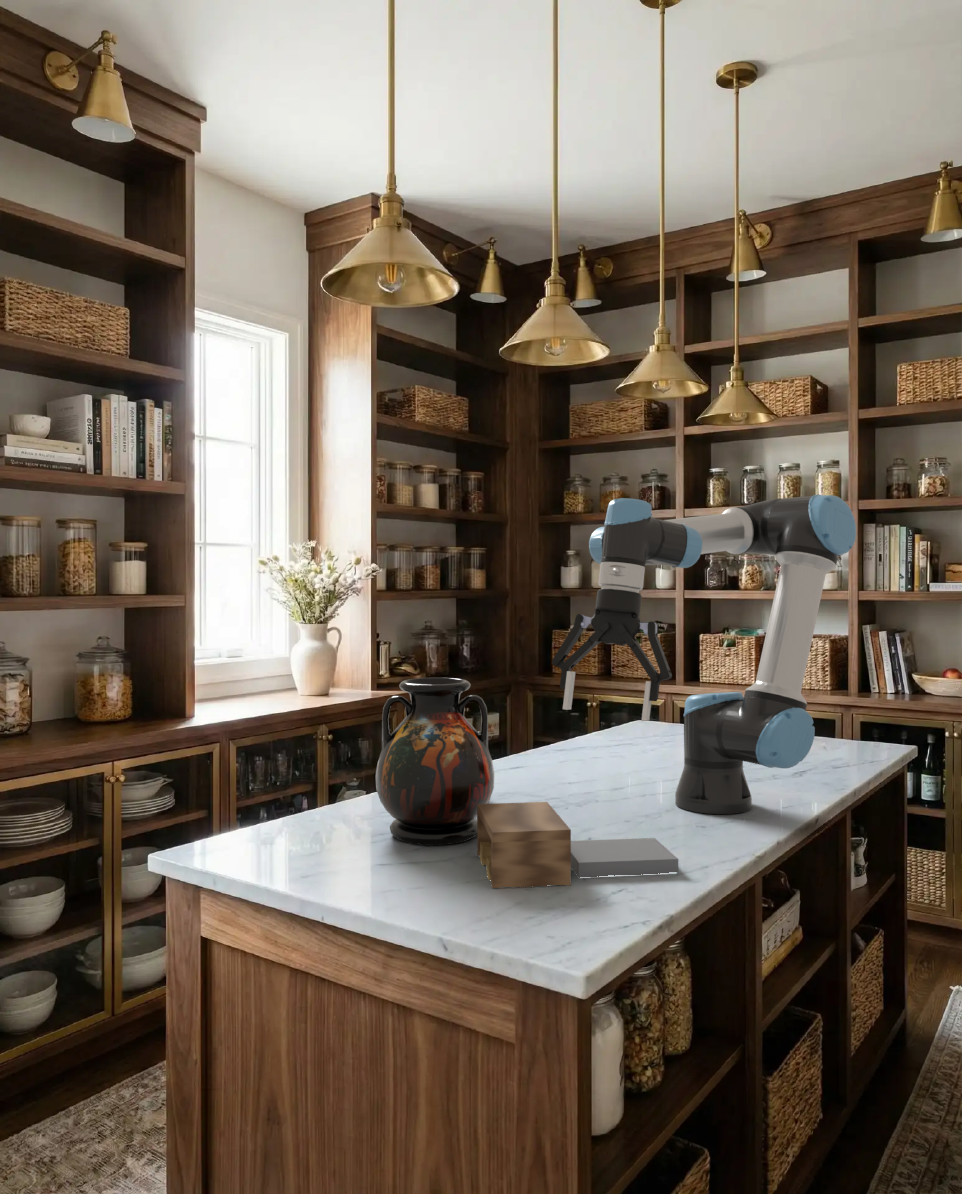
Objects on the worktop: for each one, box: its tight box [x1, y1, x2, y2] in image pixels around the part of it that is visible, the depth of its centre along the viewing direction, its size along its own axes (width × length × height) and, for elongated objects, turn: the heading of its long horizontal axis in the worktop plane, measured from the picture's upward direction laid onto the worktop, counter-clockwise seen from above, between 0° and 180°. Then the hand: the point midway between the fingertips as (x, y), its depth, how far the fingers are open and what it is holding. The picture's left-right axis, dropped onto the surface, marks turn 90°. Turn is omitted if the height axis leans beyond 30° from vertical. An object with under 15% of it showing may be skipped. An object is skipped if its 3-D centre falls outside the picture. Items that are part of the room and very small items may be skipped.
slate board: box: [571, 837, 679, 879], centre depth 156 cm, size 16×12×3 cm
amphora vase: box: [375, 677, 495, 846], centre depth 174 cm, size 22×22×28 cm
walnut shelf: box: [476, 801, 572, 889], centre depth 154 cm, size 12×18×8 cm, turn 8°
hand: (605, 715), depth 161 cm, fingers open, 13 cm apart
